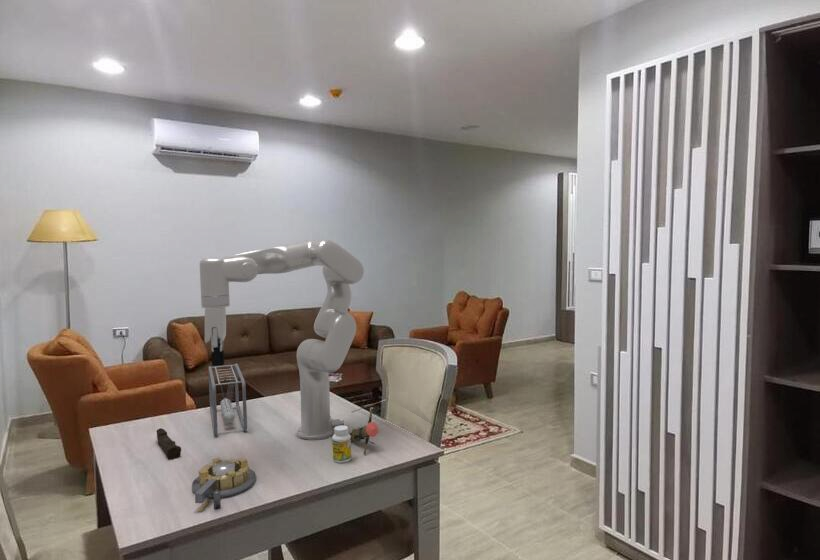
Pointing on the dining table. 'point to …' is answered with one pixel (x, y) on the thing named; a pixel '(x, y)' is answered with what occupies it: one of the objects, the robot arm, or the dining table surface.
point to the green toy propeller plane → (365, 430)
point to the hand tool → (168, 444)
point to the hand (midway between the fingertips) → (218, 364)
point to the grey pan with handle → (221, 478)
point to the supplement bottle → (341, 444)
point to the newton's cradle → (226, 403)
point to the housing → (217, 495)
